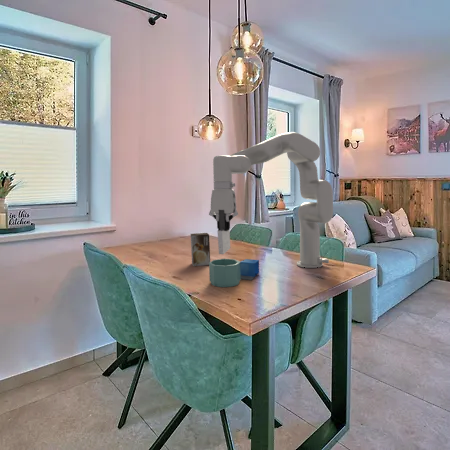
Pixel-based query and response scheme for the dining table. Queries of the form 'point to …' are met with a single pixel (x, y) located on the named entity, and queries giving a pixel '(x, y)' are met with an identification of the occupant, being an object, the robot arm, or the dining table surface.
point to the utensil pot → (224, 272)
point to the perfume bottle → (249, 267)
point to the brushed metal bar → (223, 234)
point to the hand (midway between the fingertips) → (223, 230)
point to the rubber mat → (247, 277)
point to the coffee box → (200, 249)
